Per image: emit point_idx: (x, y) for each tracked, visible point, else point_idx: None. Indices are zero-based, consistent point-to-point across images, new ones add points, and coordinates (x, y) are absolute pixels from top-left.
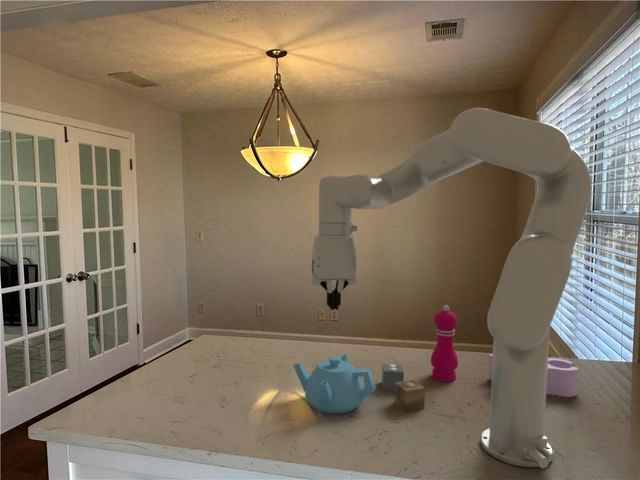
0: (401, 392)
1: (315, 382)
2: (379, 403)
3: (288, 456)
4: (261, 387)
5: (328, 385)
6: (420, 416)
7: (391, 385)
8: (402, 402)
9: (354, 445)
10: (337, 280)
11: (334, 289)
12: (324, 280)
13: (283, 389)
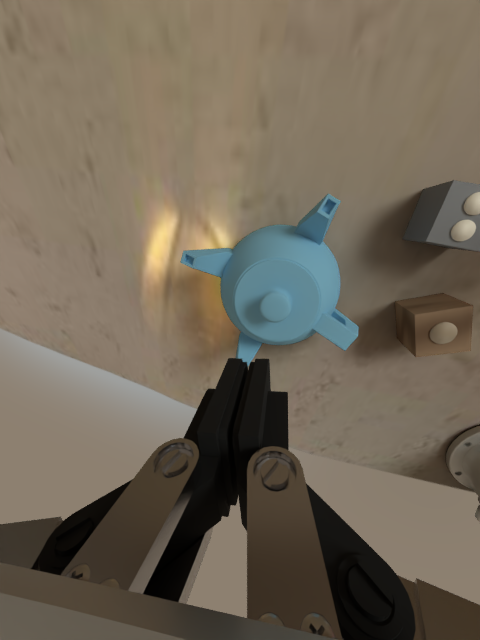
0: (410, 336)
1: (231, 319)
2: (362, 300)
3: None
4: (143, 198)
5: (249, 363)
6: (414, 356)
7: (427, 243)
8: (401, 333)
9: None
10: (260, 609)
11: (238, 481)
12: (81, 575)
13: (186, 212)
